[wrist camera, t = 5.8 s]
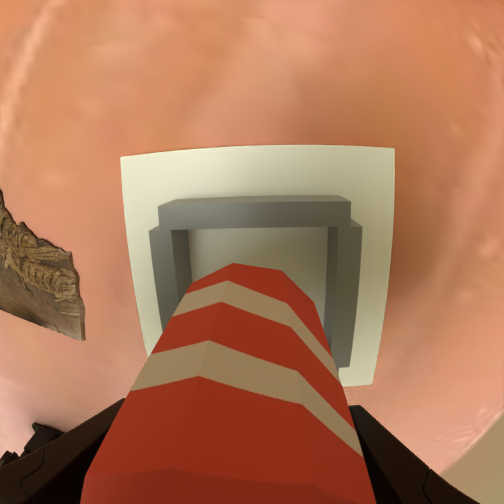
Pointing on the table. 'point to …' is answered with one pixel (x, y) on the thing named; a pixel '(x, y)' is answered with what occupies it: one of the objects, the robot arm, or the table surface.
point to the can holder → (268, 232)
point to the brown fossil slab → (38, 280)
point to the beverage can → (235, 406)
